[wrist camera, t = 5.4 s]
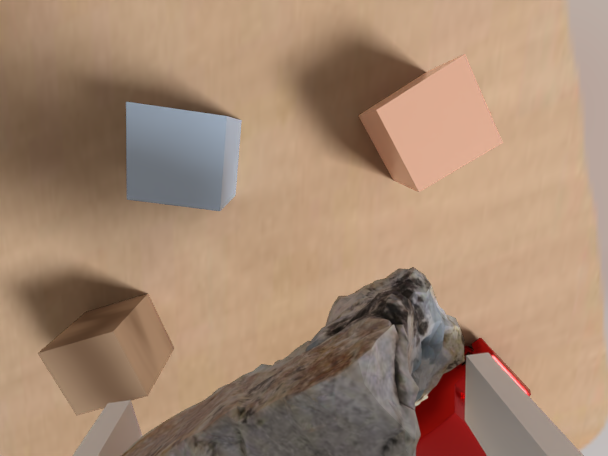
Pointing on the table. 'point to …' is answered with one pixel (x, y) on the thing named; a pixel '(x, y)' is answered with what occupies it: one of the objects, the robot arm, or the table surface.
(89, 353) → the walnut cube
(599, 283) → the table surface
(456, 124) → the salmon-pink cube
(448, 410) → the toy car
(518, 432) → the robot arm
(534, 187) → the table surface
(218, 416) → the mineral specimen
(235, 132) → the slate-blue cube
